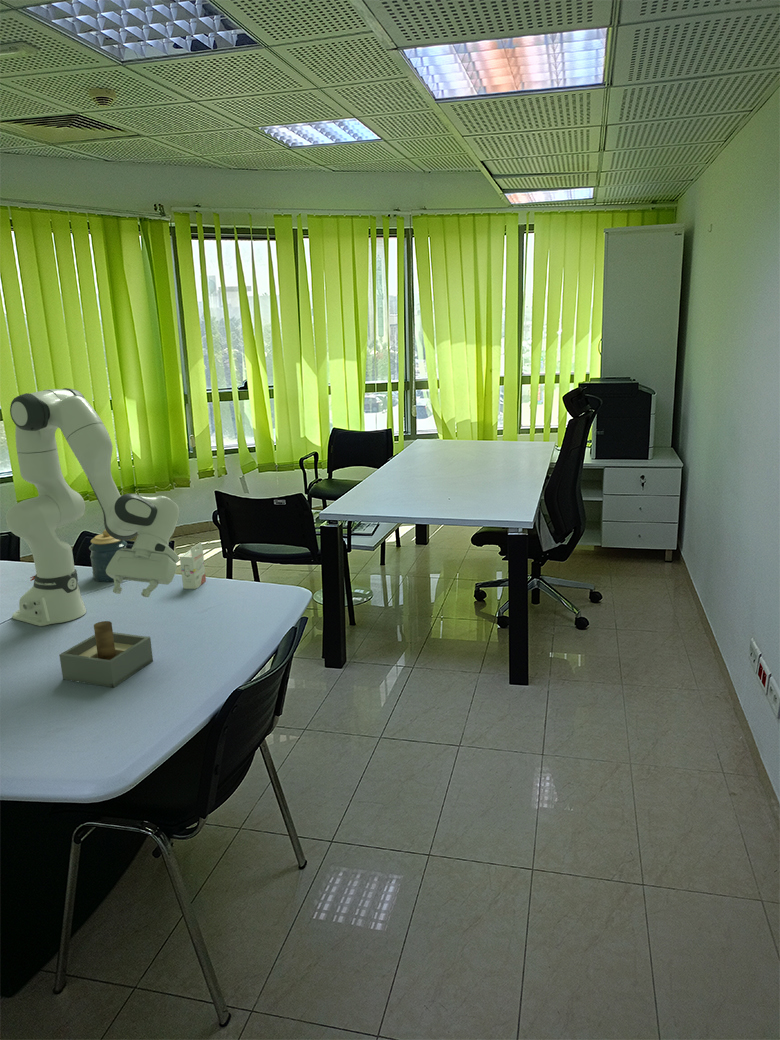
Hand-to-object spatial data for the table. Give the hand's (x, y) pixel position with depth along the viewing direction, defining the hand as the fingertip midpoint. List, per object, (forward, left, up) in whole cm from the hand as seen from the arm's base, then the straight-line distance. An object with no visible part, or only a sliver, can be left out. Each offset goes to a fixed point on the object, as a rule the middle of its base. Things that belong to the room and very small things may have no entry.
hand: (130, 594), depth 207 cm
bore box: (0, -12, -17) cm, 21 cm away
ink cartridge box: (-16, +52, -17) cm, 57 cm away
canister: (-51, +52, -17) cm, 75 cm away
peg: (0, -12, -16) cm, 20 cm away
